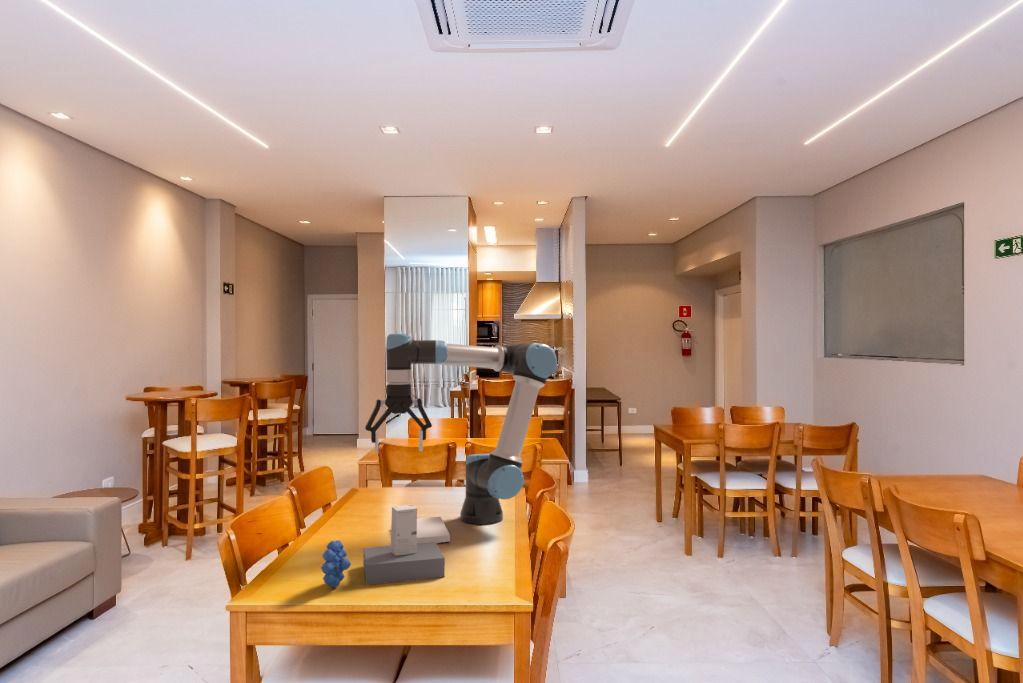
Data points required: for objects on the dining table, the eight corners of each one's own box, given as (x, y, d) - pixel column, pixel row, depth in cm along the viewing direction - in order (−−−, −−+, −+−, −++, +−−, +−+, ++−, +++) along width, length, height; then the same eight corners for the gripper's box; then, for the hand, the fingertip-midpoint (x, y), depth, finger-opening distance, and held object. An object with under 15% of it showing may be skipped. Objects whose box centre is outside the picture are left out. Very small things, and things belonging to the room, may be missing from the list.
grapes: (341, 597, 145) (342, 547, 145) (314, 596, 146) (315, 546, 146) (359, 579, 157) (359, 533, 157) (333, 578, 157) (334, 532, 158)
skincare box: (395, 556, 160) (395, 510, 160) (390, 551, 164) (390, 506, 164) (417, 553, 163) (417, 508, 163) (412, 548, 167) (412, 504, 167)
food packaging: (450, 545, 188) (440, 526, 207) (450, 535, 188) (440, 516, 207) (401, 550, 184) (396, 529, 203) (401, 539, 184) (396, 519, 203)
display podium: (435, 559, 172) (435, 541, 173) (444, 577, 159) (444, 557, 159) (363, 566, 167) (363, 547, 167) (366, 584, 153) (366, 564, 153)
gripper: (436, 381, 195) (436, 447, 195) (356, 383, 187) (356, 452, 187) (440, 383, 188) (441, 451, 188) (358, 385, 180) (358, 456, 180)
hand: (398, 452), depth 187 cm, fingers open, 13 cm apart
